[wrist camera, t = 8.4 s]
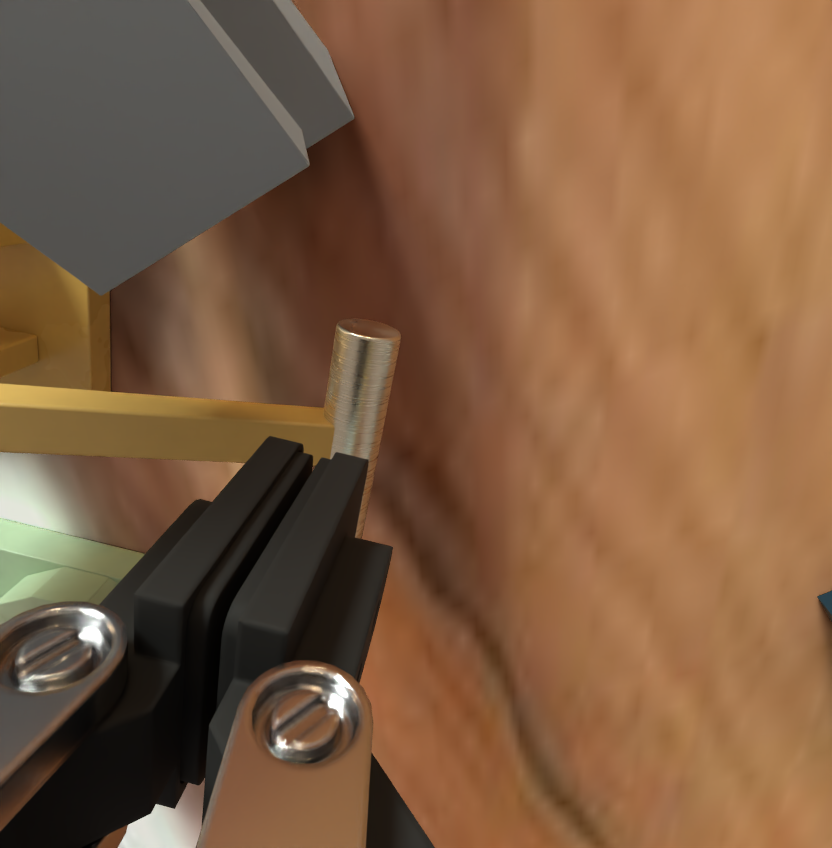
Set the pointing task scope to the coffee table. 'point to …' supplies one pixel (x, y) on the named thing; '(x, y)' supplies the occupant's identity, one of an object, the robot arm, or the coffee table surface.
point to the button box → (55, 568)
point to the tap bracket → (50, 322)
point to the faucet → (151, 121)
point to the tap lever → (216, 415)
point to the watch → (827, 603)
